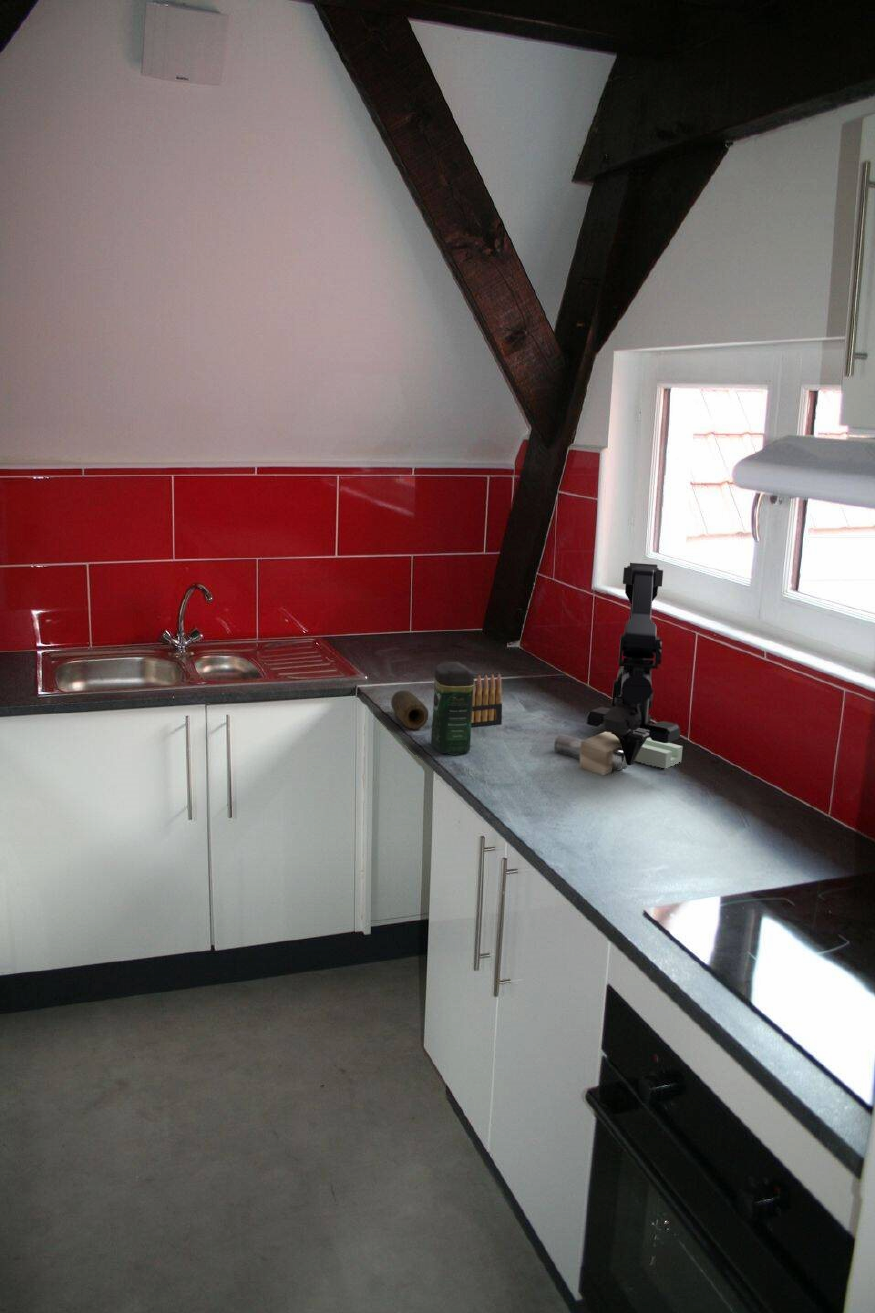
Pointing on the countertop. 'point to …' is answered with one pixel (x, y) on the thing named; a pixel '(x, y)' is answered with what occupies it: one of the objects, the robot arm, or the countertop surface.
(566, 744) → the axle
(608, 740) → the wooden bridge block
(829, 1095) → the countertop surface
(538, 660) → the countertop surface
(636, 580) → the robot arm
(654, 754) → the v block
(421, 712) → the brown hollow cylinder
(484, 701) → the ammunition clip
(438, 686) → the coffee jar
